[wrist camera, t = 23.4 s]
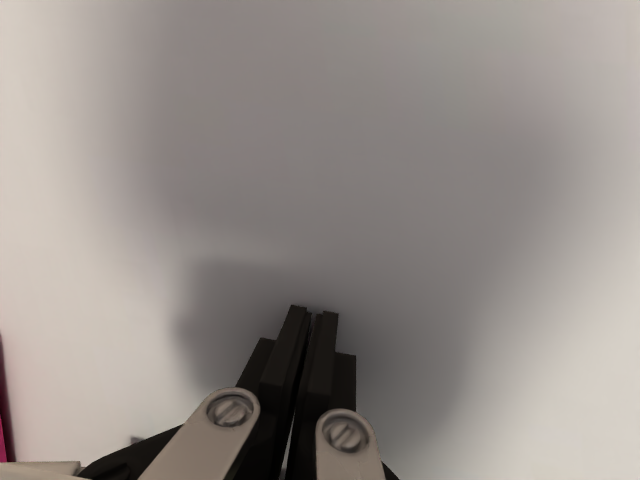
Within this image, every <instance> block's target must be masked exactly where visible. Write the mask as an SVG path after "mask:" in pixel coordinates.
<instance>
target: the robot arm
mask: <svg viewBox="0 0 640 480" xmlns="http://www.w3.org/2000/svg"><path fill="white" fill-rule="evenodd" d="M306 311H307V308H306V307H301V306H295V305H291V307H290V309H289V311H288V314H287V316H286V319H285V321H284V323H283V326H282V328H281V331H280V333H279V336H278V338H277V340H271V339H265V338H260V339H259V341H258V343H257V345H256V347H255V349H254V351H253V353H252V355H251V357H250V358H249V360H248V362H247V364H246V366H245V368H244V370H243V372H242V374H241V376H240V378H239V380H238V382H237V384H236V386H235V387H227V388H223V389H219V390H217V391H215V392H213V393H211V394H210V395H209V396H208V397H207V398H205V399H204V401H203V402H202V403H201V404H200V405H199V407H198V408H197V409H196V410H195V411H194V412H193V414H192V415H191V416H190V417H189V418H188V420H187V421H186V422H185V423H184V424H182V425H180V426H177V427H175V428H172V429H170V430H167V431H165V432H163V433H160V434H158V435H155V436H153V437H150V438H148V439H145V440H143V441H141V442H138V443H136V444H133V445H131V446H128V447H126V448H123V449H121V450H119V451H116V452H114V453H111V454H109V455H106V456H104V457H102V458H100V459H98V460H96V461H94V462H92V463H91V464H90V465H88V466H87V467H81V464H80V461H66V462H0V480H279V476H280V472H281V468H282V463H283V459H284V455H285V450H286V446H287V442H288V438H289V433H290V429H291V425H292V421H293V416H294V421H293V428H292V435H291V441H290V448H289V454H288V461H287V467H286V474H285V480H399V479H398V477H397V476H396V475H395V474H394V473H393V472H392V471H391V470H390V469H389V468H388V467H387V466H386V465H385V464H384V463H383V462H382V461H381V458H380V453H379V449H378V445H377V441H376V436H375V433H374V431H373V428H372V426H371V425H370V424H369V422H368V421H367V420H366V419H365V418H364V417H362V416H361V415H360V414H358V413H356V356H354V355H349V354H344V353H339V352H335V344H336V335H337V326H338V317H339V313H334V312H328V311H323V315H321V314H316V319H315V323H314V327H313V331H312V335H311V339H310V344H309V348H308V352H307V356H306V349H307V343H308V336H309V330H310V324H311V317H312V313H311V312H306ZM305 356H306V360H305ZM304 362H305V364H304ZM294 412H295V415H294Z"/></svg>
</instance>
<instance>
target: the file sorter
mask: <svg viewBox="0 0 640 480" xmlns="http://www.w3.org/2000/svg"><path fill="white" fill-rule="evenodd" d="M0 462H7V458H6V451H5V444H4V437H3V430H2V423H1V416H0Z"/></svg>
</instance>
